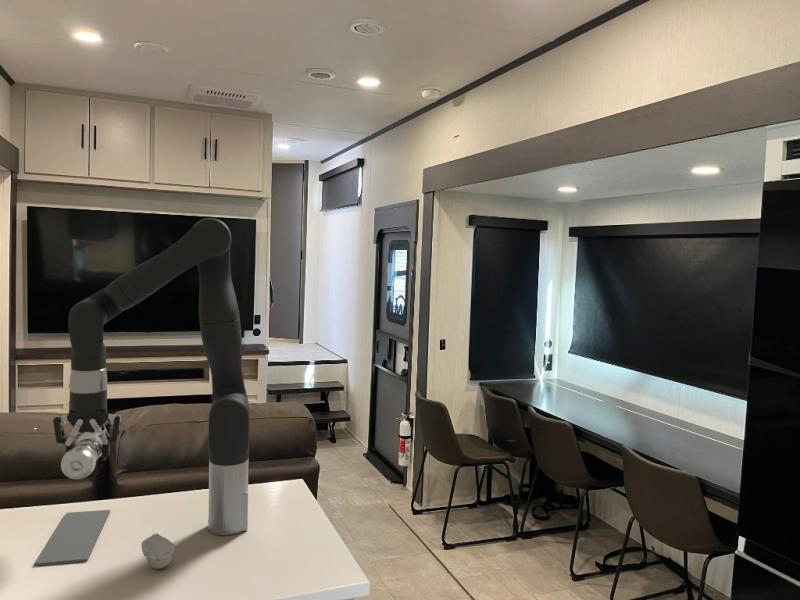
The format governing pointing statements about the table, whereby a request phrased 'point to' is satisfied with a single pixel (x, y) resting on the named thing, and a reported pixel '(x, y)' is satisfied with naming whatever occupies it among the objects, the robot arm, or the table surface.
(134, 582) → the table surface
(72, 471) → the plastic bottle
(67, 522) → the charcoal rubber mat
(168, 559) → the grey cupcake
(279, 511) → the table surface
